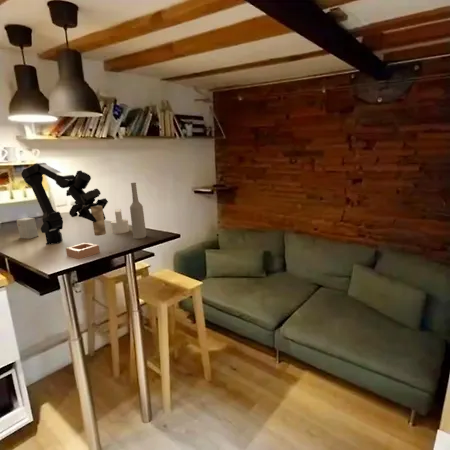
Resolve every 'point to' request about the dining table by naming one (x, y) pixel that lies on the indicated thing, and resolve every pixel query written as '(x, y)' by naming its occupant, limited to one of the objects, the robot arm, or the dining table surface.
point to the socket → (82, 250)
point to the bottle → (137, 215)
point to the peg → (98, 220)
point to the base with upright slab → (119, 223)
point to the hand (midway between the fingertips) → (100, 220)
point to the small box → (27, 228)
